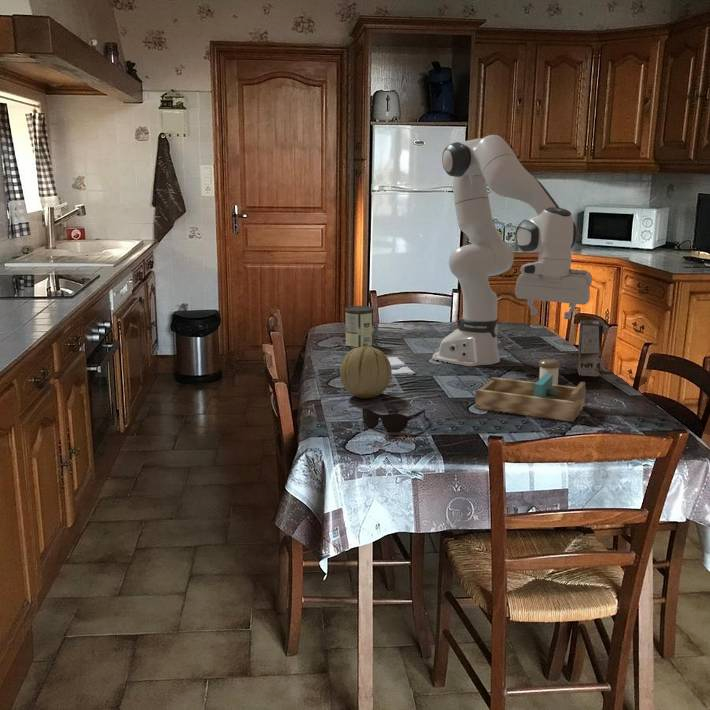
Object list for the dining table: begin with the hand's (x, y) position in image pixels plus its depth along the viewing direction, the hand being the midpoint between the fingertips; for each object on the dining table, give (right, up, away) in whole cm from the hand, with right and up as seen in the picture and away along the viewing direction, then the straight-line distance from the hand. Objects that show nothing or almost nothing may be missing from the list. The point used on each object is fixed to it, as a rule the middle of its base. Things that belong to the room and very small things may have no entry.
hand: (550, 317), depth 220 cm
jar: (+1, -21, +6) cm, 22 cm away
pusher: (-3, -24, -10) cm, 26 cm away
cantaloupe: (-52, -23, +2) cm, 56 cm away
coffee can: (-53, -8, +64) cm, 83 cm away
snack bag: (-47, -16, +33) cm, 59 cm away
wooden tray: (-7, -25, -8) cm, 27 cm away
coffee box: (+19, -16, +27) cm, 37 cm away
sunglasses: (-44, -28, -19) cm, 56 cm away
